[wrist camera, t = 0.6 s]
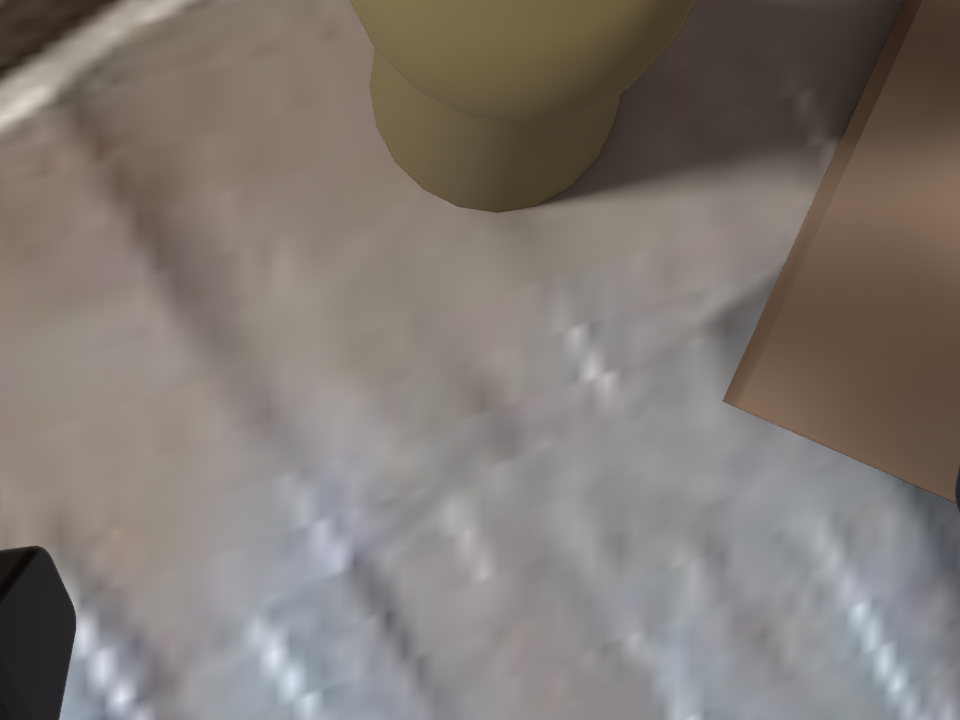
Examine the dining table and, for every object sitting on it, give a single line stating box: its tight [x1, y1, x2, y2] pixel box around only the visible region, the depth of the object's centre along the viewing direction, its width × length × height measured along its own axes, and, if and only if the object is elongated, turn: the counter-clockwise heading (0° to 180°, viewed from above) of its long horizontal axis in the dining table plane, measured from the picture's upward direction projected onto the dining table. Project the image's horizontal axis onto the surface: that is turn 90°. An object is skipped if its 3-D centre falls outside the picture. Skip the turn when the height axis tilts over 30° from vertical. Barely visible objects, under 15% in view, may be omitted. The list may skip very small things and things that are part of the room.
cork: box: [350, 0, 696, 212], centre depth 16 cm, size 6×6×11 cm
